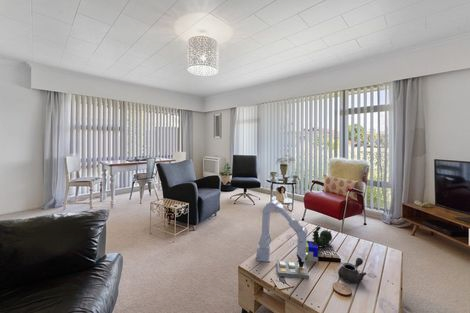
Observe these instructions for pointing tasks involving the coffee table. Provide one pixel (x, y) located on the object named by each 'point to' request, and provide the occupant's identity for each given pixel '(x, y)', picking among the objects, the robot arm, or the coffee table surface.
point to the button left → (282, 264)
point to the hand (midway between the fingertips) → (300, 266)
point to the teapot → (351, 272)
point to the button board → (292, 270)
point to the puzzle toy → (311, 251)
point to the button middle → (291, 265)
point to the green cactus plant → (322, 237)
